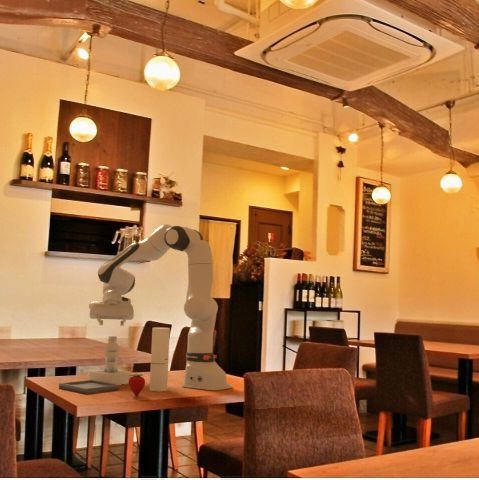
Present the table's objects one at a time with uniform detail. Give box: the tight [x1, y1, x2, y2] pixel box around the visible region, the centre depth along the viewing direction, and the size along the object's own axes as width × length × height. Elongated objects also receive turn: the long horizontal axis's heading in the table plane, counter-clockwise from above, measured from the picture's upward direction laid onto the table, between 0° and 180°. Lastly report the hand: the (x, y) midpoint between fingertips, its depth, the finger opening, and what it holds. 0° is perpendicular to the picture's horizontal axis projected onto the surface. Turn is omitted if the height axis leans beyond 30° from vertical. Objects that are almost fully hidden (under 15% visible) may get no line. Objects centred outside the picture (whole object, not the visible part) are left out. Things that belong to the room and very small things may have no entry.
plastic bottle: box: [103, 335, 120, 374], centre depth 241 cm, size 6×7×20 cm
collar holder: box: [89, 369, 132, 386], centre depth 240 cm, size 12×12×5 cm
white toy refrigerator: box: [148, 327, 171, 392], centre depth 228 cm, size 7×7×25 cm
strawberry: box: [128, 370, 146, 397], centre depth 210 cm, size 6×8×10 cm
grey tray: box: [58, 379, 121, 395], centre depth 223 cm, size 18×16×2 cm
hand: (111, 324), depth 254 cm, fingers open, 8 cm apart
